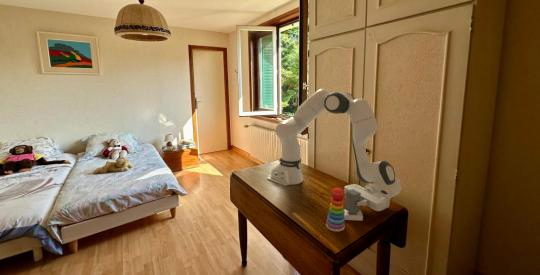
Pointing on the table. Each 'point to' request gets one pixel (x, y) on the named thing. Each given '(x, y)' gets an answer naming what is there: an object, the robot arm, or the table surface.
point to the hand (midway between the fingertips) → (351, 200)
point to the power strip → (353, 217)
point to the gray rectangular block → (352, 201)
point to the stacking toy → (336, 211)
